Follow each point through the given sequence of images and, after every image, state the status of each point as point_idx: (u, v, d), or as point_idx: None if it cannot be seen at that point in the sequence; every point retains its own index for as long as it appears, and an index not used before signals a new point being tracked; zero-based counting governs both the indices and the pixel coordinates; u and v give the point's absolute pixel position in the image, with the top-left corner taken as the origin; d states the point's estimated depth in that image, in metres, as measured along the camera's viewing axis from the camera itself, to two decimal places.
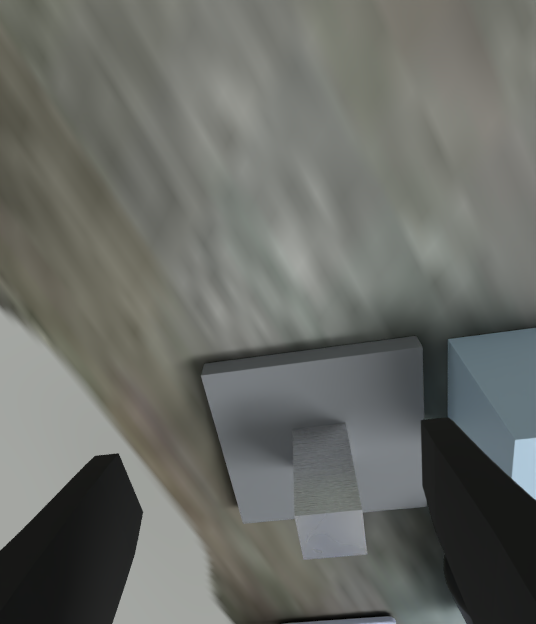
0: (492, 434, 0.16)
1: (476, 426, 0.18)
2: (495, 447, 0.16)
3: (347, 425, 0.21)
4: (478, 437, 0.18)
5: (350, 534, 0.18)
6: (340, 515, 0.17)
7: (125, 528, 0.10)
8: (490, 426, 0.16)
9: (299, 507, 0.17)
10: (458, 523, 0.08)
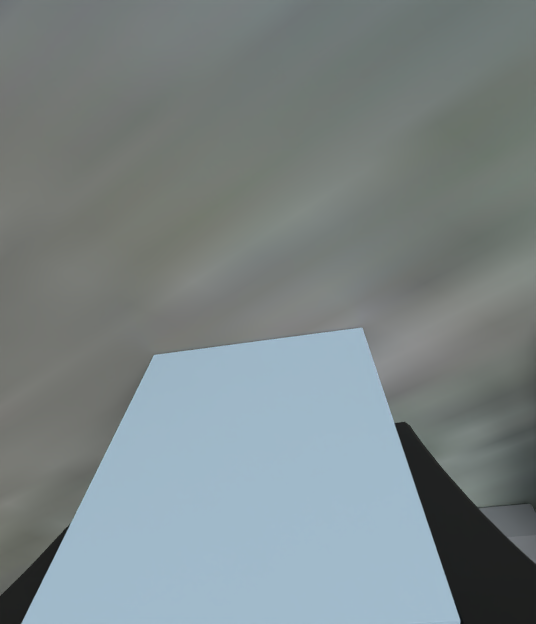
0: None
1: None
2: None
3: None
4: None
5: None
6: None
7: None
8: None
9: None
10: None
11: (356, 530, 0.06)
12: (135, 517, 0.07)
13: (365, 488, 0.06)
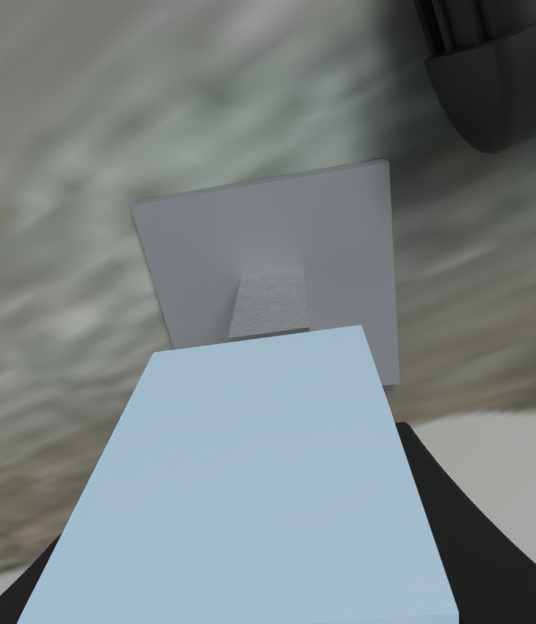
0: None
1: None
2: None
3: (245, 277, 0.19)
4: None
5: None
6: None
7: None
8: None
9: None
10: None
11: (355, 525, 0.06)
12: (134, 512, 0.07)
13: (364, 483, 0.06)
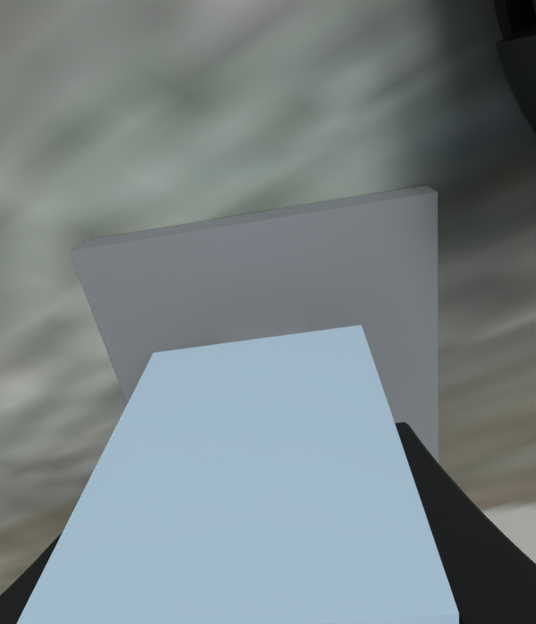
0: None
1: None
2: None
3: None
4: None
5: None
6: None
7: None
8: None
9: None
10: None
11: (355, 525, 0.06)
12: (134, 512, 0.07)
13: (364, 483, 0.06)
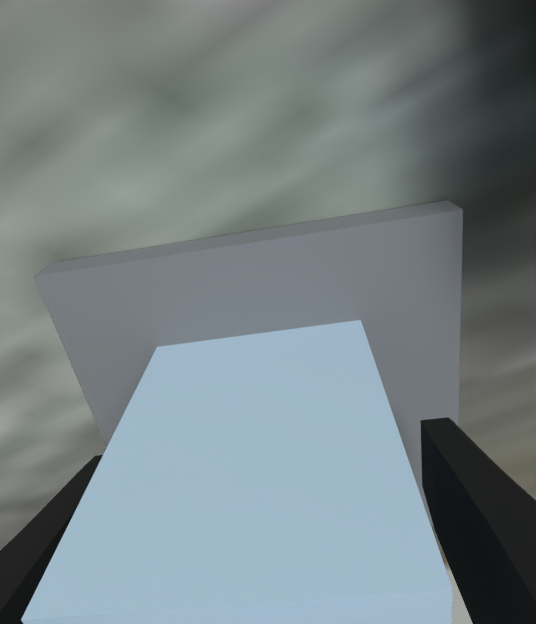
0: None
1: None
2: None
3: None
4: None
5: None
6: None
7: None
8: None
9: None
10: (458, 523, 0.08)
11: (354, 509, 0.06)
12: (141, 498, 0.07)
13: (363, 470, 0.07)
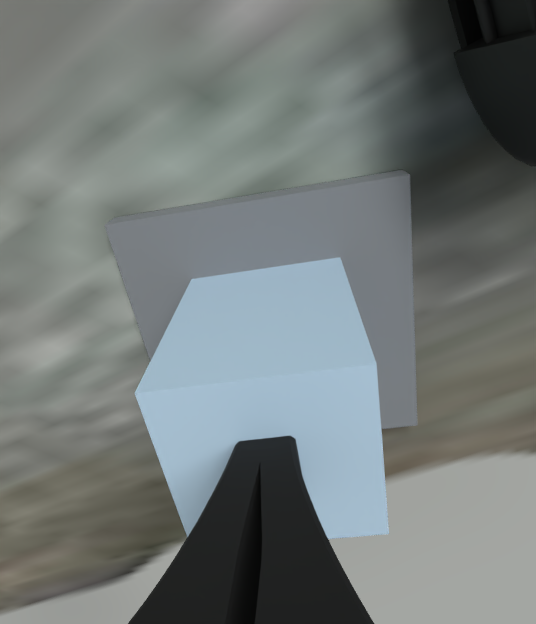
0: None
1: None
2: None
3: None
4: None
5: None
6: None
7: None
8: None
9: None
10: None
11: (326, 341, 0.10)
12: (195, 346, 0.11)
13: (333, 326, 0.11)
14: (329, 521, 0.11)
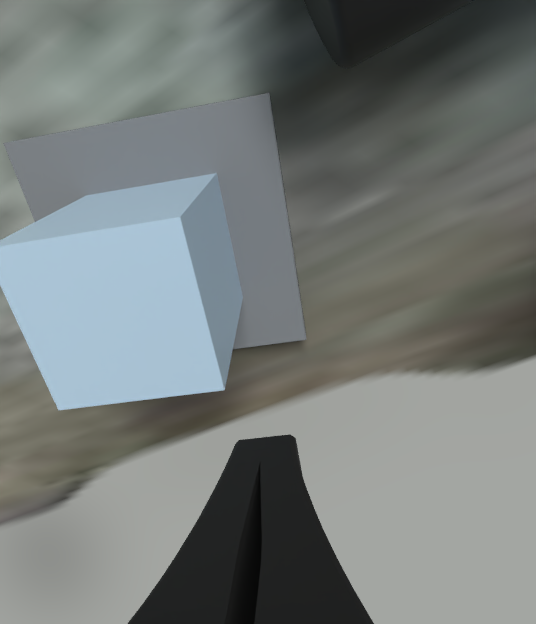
0: None
1: None
2: None
3: None
4: None
5: None
6: None
7: None
8: None
9: None
10: None
11: (155, 211, 0.12)
12: (52, 224, 0.13)
13: (169, 204, 0.13)
14: (170, 377, 0.13)
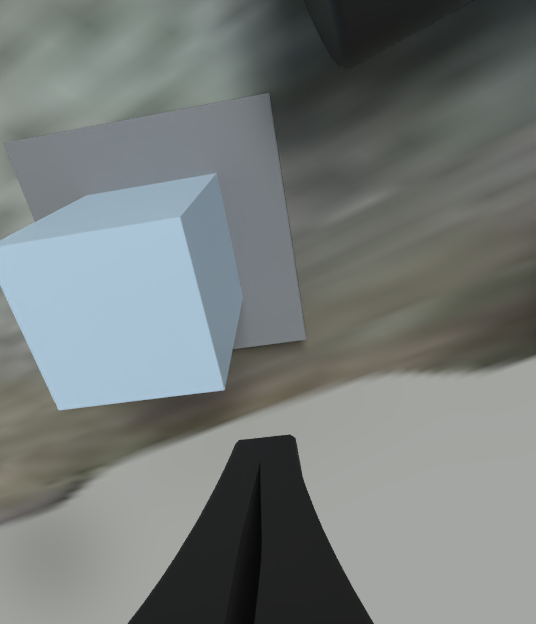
0: None
1: None
2: None
3: None
4: None
5: None
6: None
7: None
8: None
9: None
10: None
11: (155, 211, 0.12)
12: (52, 224, 0.13)
13: (169, 204, 0.13)
14: (170, 377, 0.13)
